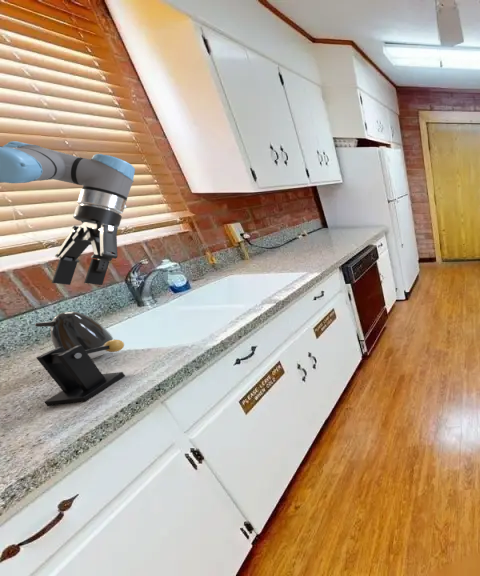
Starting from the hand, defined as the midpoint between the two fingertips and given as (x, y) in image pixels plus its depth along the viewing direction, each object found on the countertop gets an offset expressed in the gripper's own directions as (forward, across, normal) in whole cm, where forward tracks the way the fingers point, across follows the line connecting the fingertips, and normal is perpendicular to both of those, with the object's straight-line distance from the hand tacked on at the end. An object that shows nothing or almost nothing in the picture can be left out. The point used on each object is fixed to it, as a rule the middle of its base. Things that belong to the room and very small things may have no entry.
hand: (76, 284), depth 78 cm
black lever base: (+28, -2, -6) cm, 29 cm away
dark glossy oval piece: (+20, +18, -14) cm, 31 cm away
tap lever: (+19, -1, -6) cm, 20 cm away
